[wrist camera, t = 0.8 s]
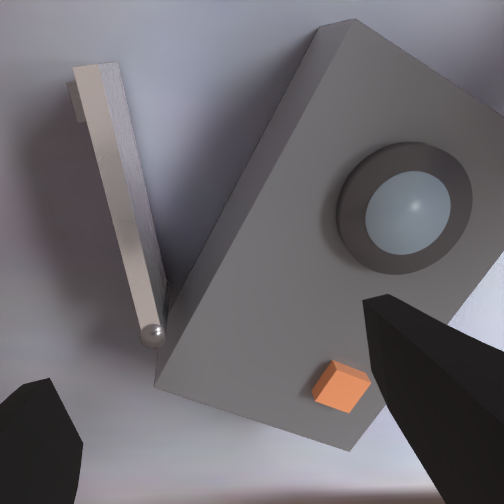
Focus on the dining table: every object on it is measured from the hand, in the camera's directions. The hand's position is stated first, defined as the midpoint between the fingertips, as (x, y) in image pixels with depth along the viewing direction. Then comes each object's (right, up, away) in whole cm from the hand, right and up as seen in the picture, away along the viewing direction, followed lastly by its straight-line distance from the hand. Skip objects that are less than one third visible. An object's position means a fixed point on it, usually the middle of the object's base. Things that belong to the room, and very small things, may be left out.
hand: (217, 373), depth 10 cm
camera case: (+4, +3, +9) cm, 11 cm away
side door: (-4, +5, +8) cm, 10 cm away
